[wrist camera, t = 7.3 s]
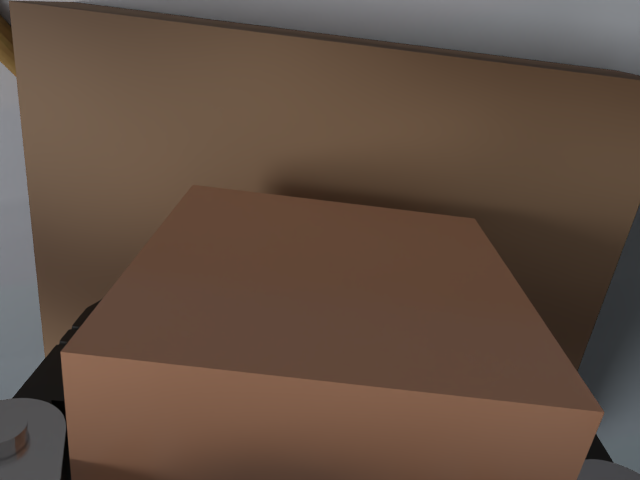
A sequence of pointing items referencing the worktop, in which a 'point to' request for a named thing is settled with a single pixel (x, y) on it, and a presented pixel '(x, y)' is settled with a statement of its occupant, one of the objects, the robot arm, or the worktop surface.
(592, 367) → the worktop surface
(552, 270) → the base board
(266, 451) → the terracotta block
